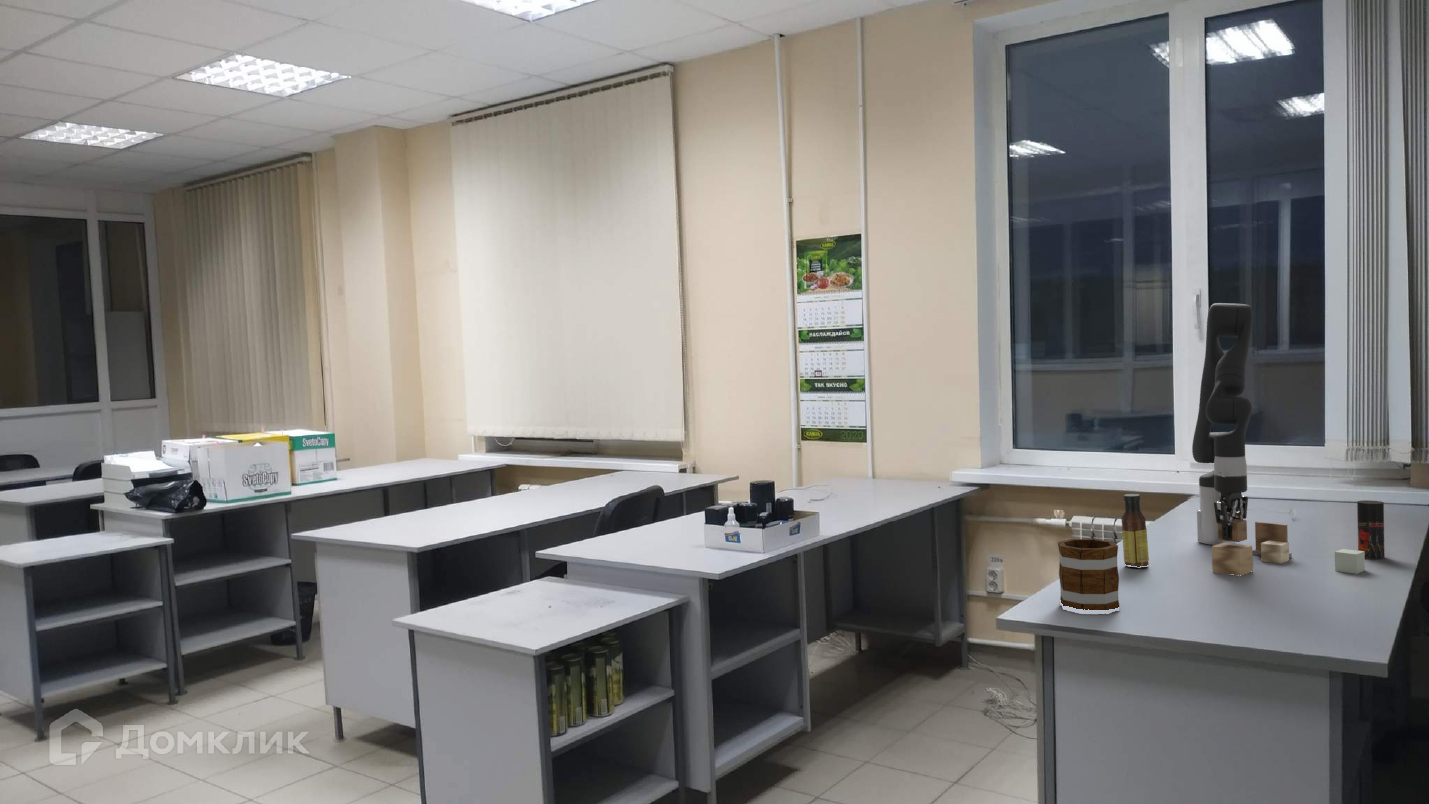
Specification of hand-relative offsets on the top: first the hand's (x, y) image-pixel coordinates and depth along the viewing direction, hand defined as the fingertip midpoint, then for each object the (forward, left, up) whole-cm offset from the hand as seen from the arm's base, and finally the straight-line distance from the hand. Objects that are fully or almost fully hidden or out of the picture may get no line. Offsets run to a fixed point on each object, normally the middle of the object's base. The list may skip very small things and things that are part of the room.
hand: (1232, 537), depth 249 cm
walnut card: (-1, +25, -9) cm, 27 cm away
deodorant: (+18, +40, -9) cm, 45 cm away
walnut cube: (0, 0, 0) cm, 0 cm away
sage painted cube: (+20, +20, -9) cm, 30 cm away
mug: (-8, -52, -9) cm, 53 cm away
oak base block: (0, 0, -9) cm, 9 cm away
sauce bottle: (-21, -10, -9) cm, 25 cm away
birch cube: (+2, +20, -9) cm, 22 cm away
